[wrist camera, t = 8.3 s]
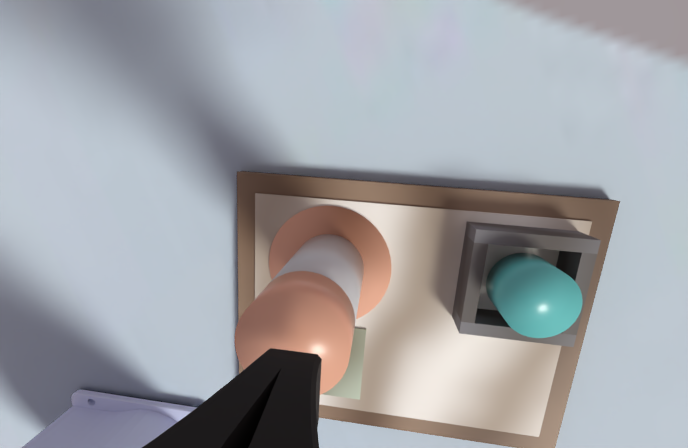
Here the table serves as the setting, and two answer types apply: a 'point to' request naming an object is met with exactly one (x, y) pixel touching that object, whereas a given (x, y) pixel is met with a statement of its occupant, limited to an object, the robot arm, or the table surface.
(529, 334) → the button
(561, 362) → the beige base plate
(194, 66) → the table surface
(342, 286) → the capsule peg
